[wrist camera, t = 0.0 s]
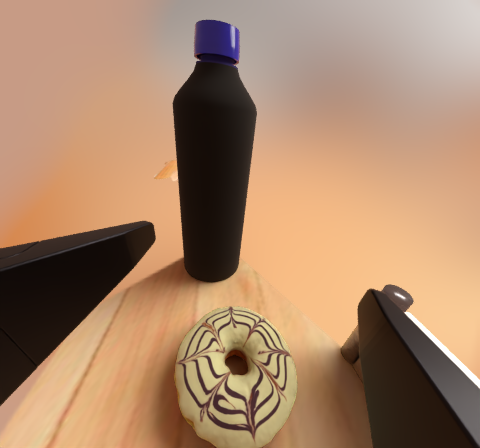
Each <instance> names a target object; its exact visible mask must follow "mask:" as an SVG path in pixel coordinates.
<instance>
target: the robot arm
mask: <svg viewBox="0 0 480 448" xmlns="http://www.w3.org/2000/svg"><path fill="white" fill-rule="evenodd" d="M155 239H156V238H155V231H154V225H153V224H152V223H151V222H147V221H140V222H134V223H129V224H124V225H119V226H114V227H109V228H104V229H99V230H94V231H89V232H84V233H78V234H73V235H68V236H64V237H58V238H53V239H48V240H43V241H40V242H39V241H37V242H32V243H27V244H22V245H17V246H12V247H6V248H0V406H1V405H2V404H3V403H4V402H5V400H7V399H8V397H9V396H10V395H11V394H12V393H13V392H14V391H15V390H16V389H17V388H18V387H19V386H20V385H21V384H22V383H23V382H24V381H25V380H26V379H27V378H28V377H29V376H30V375H31V374H32V373H33V371H35V370H36V368H37V367H38V366H39V365H40V364H41V363H42V362H43V361H44V360H45V359H46V358H47V357H48V356H49V355H50V354H51V353H52V352H53V351H54V350H55V349H56V348H57V347H58V346H59V345H60V344H61V343H62V342H63V340H64V339H65V338H66V337H67V336H68V335H69V334H70V333H71V332H72V331H73V330H74V329H75V328H76V327H77V326H78V325H79V324H80V323H81V322H82V321H83V320H84V319H85V318H86V317H87V316H88V315H89V314H90V313H91V312H92V311H93V310H94V308H95V307H96V306H97V305H98V304H99V303H100V302H101V301H102V300H103V299H104V298H105V297H106V296H107V295H108V294H109V293H110V292H111V291H112V290H113V289H114V288H115V287H116V286H117V285H118V283H120V282H121V280H123V278H124V277H125V276H126V275H127V274H128V273H129V272H130V271H131V270H132V269H133V268H134V267H135V266H136V265H137V263H138V262H139V261H140V259H141V258H142V257H143V256H144V255H145V253H146V252H147V251H148V250H149V248H150V247H151V246H152V245H153V243H154V242H155ZM358 336H359V355H360V363H361V370H362V376H363V383H364V390H365V396H366V403H367V409H368V416H369V423H370V429H371V436H372V443H373V448H480V388H479V387H478V386H477V385H476V384H475V383H474V382H473V381H472V380H471V379H470V378H469V377H468V376H467V375H466V374H465V373H464V372H463V371H462V370H461V369H460V368H459V367H458V366H457V365H456V364H455V363H454V362H453V361H452V360H451V359H450V358H449V357H448V356H447V355H446V354H445V353H444V352H443V351H442V350H441V349H440V348H439V347H438V346H437V345H436V344H435V343H434V342H433V341H432V340H431V339H430V338H429V337H428V336H427V335H426V334H425V333H424V332H423V331H422V330H421V329H420V328H419V327H418V326H417V325H416V324H415V323H414V322H413V321H412V320H411V319H410V318H409V317H408V316H407V315H406V314H405V313H404V312H403V311H402V310H401V309H400V308H399V307H398V306H397V305H396V304H395V303H394V302H393V301H392V300H391V299H390V298H389V297H388V296H387V295H386V294H385V293H384V292H381V291H378V290H375V289H369V290H367V292H366V293H365V295H364V296H363V298H362V299H361V301H360V303H359V305H358Z"/></svg>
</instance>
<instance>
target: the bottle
mask: <svg viewBox="0 0 480 448" xmlns="http://www.w3.org/2000/svg"><path fill="white" fill-rule="evenodd" d="M194 39H195V40H194V56H195V57H196V58H197V59H199V60H201V61H197V62H196V65H195V69H194V71H193V73H192V74H191V75H190V77H189V78H188V80H187V81H186V82H185V83H184V85H183V86H182V87H181V88H180V90H179V91H178V93H177V94H176V95H175V97H174V101H173V113H174V128H175V141H176V155H177V168H178V181H179V195H180V207H181V208H180V209H181V222H182V236H183V250H184V263H185V268H186V270H187V272H188V273H189V274H190V275H191V276H192V277H194V278H196V279H198V280H201V281H207V282H215V281H220V280H224V279H226V278H228V277H230V276H231V275H233V274H234V272H235V271H236V270H237V268H238V264H239V256H240V248H241V240H242V231H243V223H244V215H245V206H246V198H247V189H248V182H249V174H250V164H251V157H252V149H253V141H254V132H255V123H256V116H257V111H256V107H255V104H254V103H253V101H252V99H251V97H250V95H249V93H248V92H247V90H246V88H245V87H244V85H243V83H242V81H241V80H240V77H239V73H238V68H237V67H236V66H234V65H236V64H238V63H239V53H240V45H239V30H238V29H237V28H236V27H234V26H233V25H230V24H228V23H225V22H221V21H216V20H202V21H198V22H197V23H196V24H195V38H194Z"/></svg>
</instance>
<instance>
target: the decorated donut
mask: <svg viewBox="0 0 480 448" xmlns="http://www.w3.org/2000/svg"><path fill="white" fill-rule="evenodd" d="M232 355H235V356H236V355H237V356H239V357H241V358H242V359H244V360H245V361H246V363H247V366H248V372H247V374H245V375H232V373H231V372H230V370H229V368H228V367H227V366H226V365H225V359H226V358H228V357H229V356H232ZM174 380H175V385H176V388H177V393H178V403H179V407H180V411H181V413H182V415H183V417H184V418H185V420H186V422H187V423H188V424H190V425H192V428H193V429H194V430H195V431H196V434H197V435H198V436H199V437H200V438H202V439H204V440H206V441H208V442H210V443H212V444H213V445H214V446H215V447H217V448H261V447H263V446H265V445H266V444H268V443H269V442H270V441H271V440H272V439H273V437H274V436H275V435H276V434H277V433H278V432H279V430H280V429H281V428H282V427H283V425H284V424H285V422H286V420H287V419H288V417H289V414H290V412H291V409H292V407H293V404H294V402H295V398H296V393H297V374H296V368H295V364H294V361H293V358H292V356H291V353H290V350H289V348H288V345H287V343H286V342H285V340H284V338H283V337H282V336H281V334H280V333H279V331H278V330H277V329H276V328H275V327H274V325H272V324H271V323H270V322H269V321H268V320H267V319H266V318H265V317H263V316H261V315H260V314H258V313H256V312H255V311H252V310H249V309H247V308H245V307H239V306H238V307H223V308H218V309H216V310H213V311H212V312H210V313H208V314H206V315H205V316H204V317H203V318H202V319H201V320H200V321H199V322H198V323H197V324H196V325H195V326H194V327H193V328H192V329H191V330H190V331H189V332H188V333H187V335H186V336H185V338H184V339H183V341H182V343H181V345H180V347H179V351H178V354H177V360H176V364H175V374H174Z"/></svg>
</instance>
